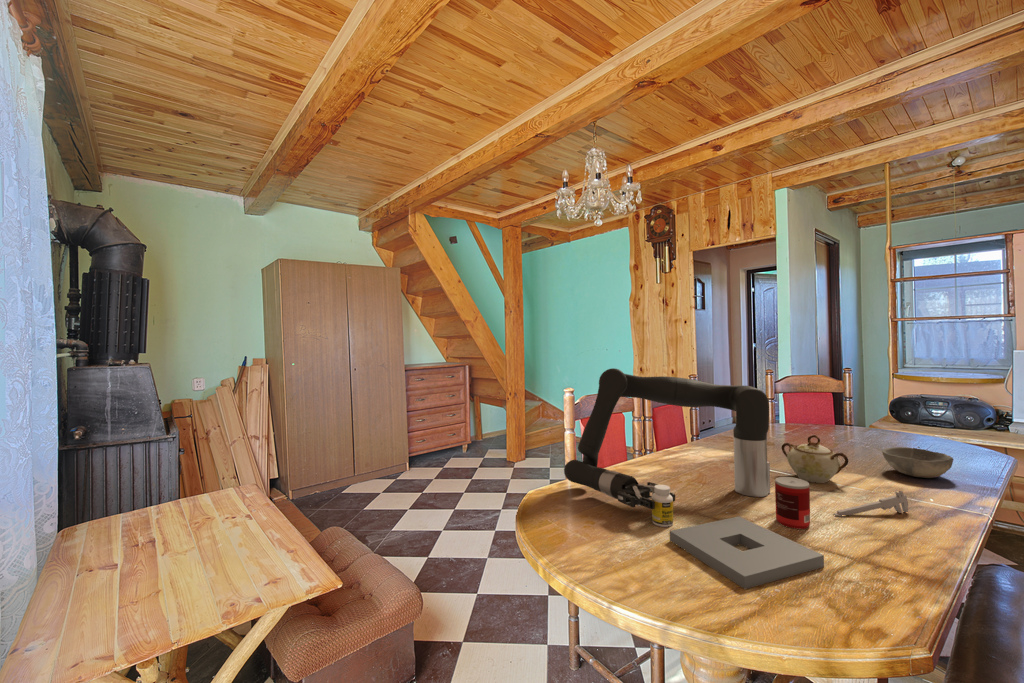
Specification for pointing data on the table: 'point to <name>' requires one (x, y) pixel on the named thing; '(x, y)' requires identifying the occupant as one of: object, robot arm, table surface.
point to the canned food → (792, 502)
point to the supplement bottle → (662, 506)
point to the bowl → (918, 461)
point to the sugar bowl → (814, 461)
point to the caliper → (879, 505)
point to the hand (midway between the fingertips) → (664, 501)
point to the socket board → (750, 567)
